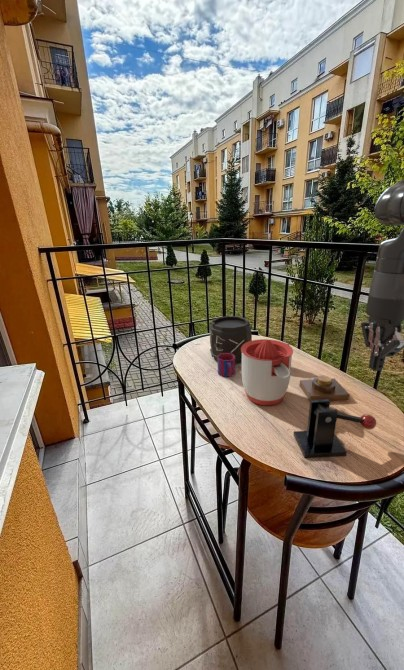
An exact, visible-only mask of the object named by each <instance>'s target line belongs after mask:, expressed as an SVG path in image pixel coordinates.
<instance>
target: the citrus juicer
mask: <svg viewBox="0 0 404 670" xmlns="http://www.w3.org/2000/svg"><path fill="white" fill-rule="evenodd" d="M286 343H287V342H283V341H280V340H277V339H276V340H275V339H268V338H267V339H266V338H265V339H264V338H263V339H253V340H252V341H249V342H247V343H245V344H243V345H242V347H241V351H242V362H241V381H242V386H243V390H244V393H245V395H246V397H247V398H248V400H249V401H251V402H253V403H254V404H256V405H260V406H273V405H277V404H279V403H281V402H282V401H283V399H284V397H285V396H286V393H287V390H288V388H289V385H290V381H291V370H292V359H293V354H294V349H293V348H292V347H291V345H290V344H289V345H288V344H286Z"/></svg>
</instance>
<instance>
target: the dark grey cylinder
mask: <svg viewBox="0 0 404 670" xmlns="http://www.w3.org/2000/svg"><path fill="white" fill-rule="evenodd" d="M208 327H209V344H210V349H209V351H210V354H211V357H212V358H213V357H214V358H213V360H214V361H216V362H218V361H217V356H218V355H219V354H222V353H231V354H233V355H235V365H237V364H242V351H241V347H242V345H243V344H245V343H247V342H249V341H253V340H252V339H253V335H252V329H253V326H252V324H251V323H250V321H249V319H248V318H247V317H243V316H237V315H225V316H219V317H217V318H214V319H213V320H212V321H211V322H210V324H209V325H208Z"/></svg>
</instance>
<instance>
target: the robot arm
mask: <svg viewBox="0 0 404 670" xmlns="http://www.w3.org/2000/svg"><path fill="white" fill-rule="evenodd" d="M374 215H375V218H376V220H377V221H378V222H379V223H380V224H382V225H385V226H390V227H391V226H392V227H393V226H397V227H398V226H404V179H402V180H400V181H398V182H396V183H394V184H392V185H390V186H389V187H388V188H387V189H385V190H384V191H383V192H382V194H381V195H380V196H379V198H378V199H377V201H376V203H375V206H374ZM365 314H366V315H367V316H368V320H367V321H361V322H360V327H361V332H362V337H363V340H364V341H363V342H364V345H365V347H366V348H369V350H368V351H369V352H370V356H369V362H368V368H369V369H371V371H373V372H379V371H382V370H383V369H384V366H385V360H386V358H387V357H388V358H389V357H395V355H397V354H398V353H399V352H401V351H402V350H403V349H404V339H403V337H402V335H401V333H402V330H403V327H402V322H403V321H404V227H403V228H402V230H401V231H400V233H399V234H398V236H397V237H394V238H390V239H387V240H384V241H382V242H381V243H380V244H379V246H378V249H377V253H376V259H375V265H374V270H373V273H372V277H371V281H370V285H369V289H368V296H367V303H366V307H365Z"/></svg>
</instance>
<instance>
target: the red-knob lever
mask: <svg viewBox="0 0 404 670" xmlns="http://www.w3.org/2000/svg"><path fill="white" fill-rule="evenodd" d="M330 409H331V408H330V406H329V407H328V406H324V405H319V404H318V405H317V407H316V409H315V411H314V413H315V415H316V416H317V410H330ZM337 419H340V420H344V421H349V422H353V423H357V424H359V425H360V426H361V427H362V428H363V429H365V430H374V429H375V428H376V427H377V419H376V418H375V417H374V416H373V415H371V414H369V413H366V414H365V413H364V414H362V415H361V416H356V415H352V414H347V413H343V412H338V414H337Z"/></svg>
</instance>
